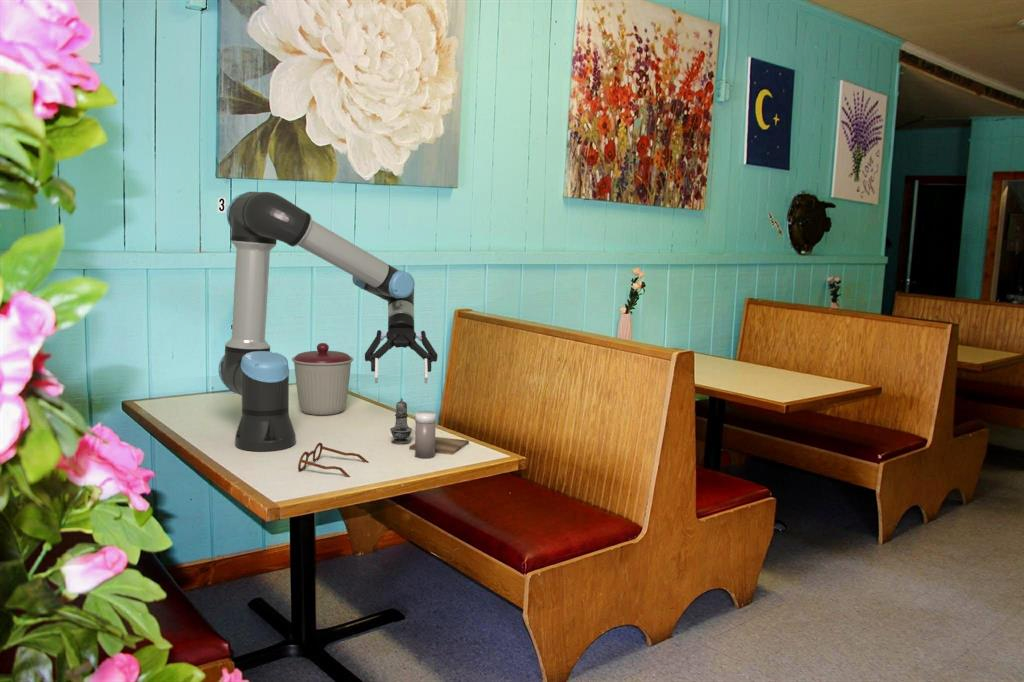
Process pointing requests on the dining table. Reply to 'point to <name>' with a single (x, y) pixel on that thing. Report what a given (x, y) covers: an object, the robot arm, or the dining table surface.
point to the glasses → (319, 457)
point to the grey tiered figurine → (401, 425)
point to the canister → (322, 380)
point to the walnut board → (446, 445)
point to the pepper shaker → (425, 434)
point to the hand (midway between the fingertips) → (401, 380)
